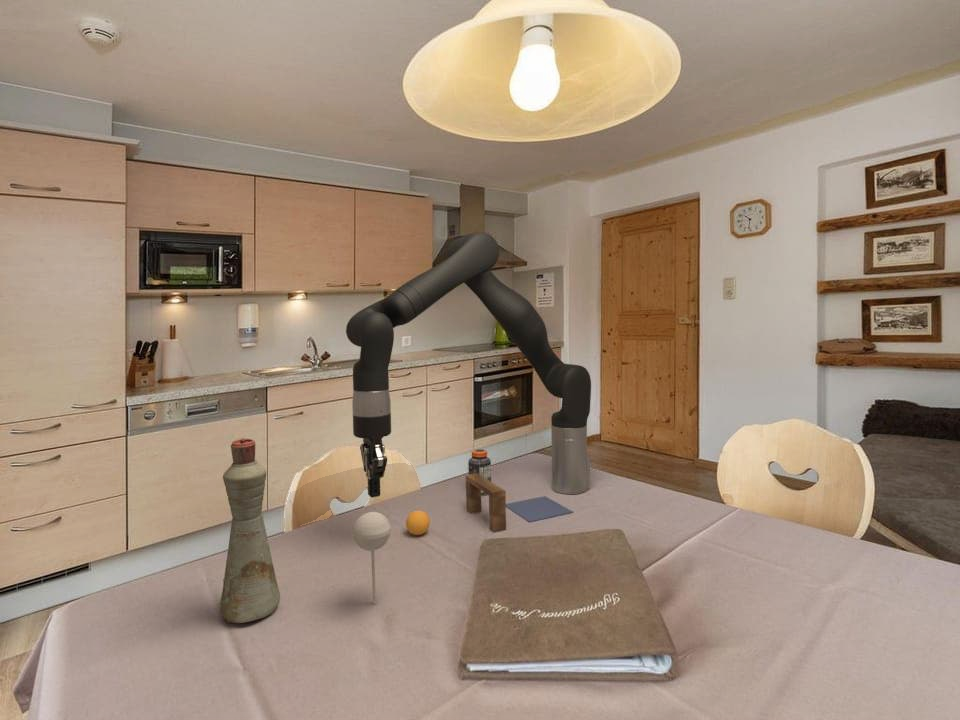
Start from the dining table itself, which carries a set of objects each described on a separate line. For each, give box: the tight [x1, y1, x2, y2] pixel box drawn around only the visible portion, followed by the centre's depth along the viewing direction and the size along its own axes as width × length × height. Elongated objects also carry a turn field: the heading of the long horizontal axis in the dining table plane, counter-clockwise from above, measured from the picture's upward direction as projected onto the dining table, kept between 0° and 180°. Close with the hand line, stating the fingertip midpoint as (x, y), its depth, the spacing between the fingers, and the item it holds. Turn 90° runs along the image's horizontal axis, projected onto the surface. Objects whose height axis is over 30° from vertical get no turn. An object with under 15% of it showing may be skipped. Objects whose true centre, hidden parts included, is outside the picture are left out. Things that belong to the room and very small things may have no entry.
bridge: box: [465, 473, 507, 533], centre depth 115 cm, size 3×14×9 cm, turn 26°
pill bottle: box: [467, 448, 492, 496], centre depth 133 cm, size 6×6×11 cm
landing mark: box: [506, 495, 574, 523], centre depth 121 cm, size 12×12×1 cm
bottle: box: [219, 437, 281, 624], centre depth 79 cm, size 9×9×28 cm
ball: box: [405, 509, 431, 536], centre depth 108 cm, size 5×5×5 cm
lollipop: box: [352, 511, 392, 605], centre depth 81 cm, size 6×6×15 cm
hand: (374, 495), depth 103 cm, fingers closed
